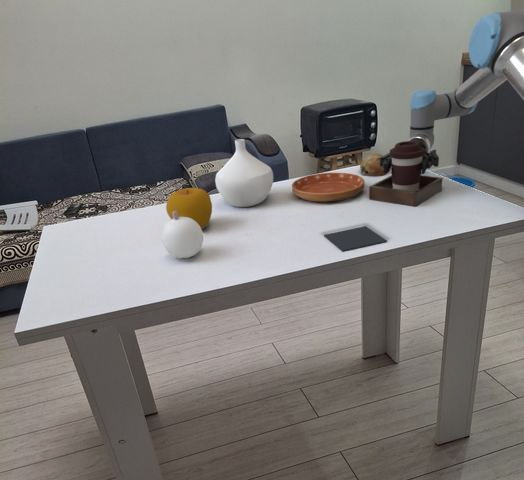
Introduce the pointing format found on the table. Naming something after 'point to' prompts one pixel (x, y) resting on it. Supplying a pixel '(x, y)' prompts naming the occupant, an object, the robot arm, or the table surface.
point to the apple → (191, 205)
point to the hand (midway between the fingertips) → (404, 169)
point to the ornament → (182, 236)
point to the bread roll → (372, 165)
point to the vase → (244, 178)
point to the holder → (410, 198)
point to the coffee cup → (406, 165)
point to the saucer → (328, 186)
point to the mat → (354, 238)
